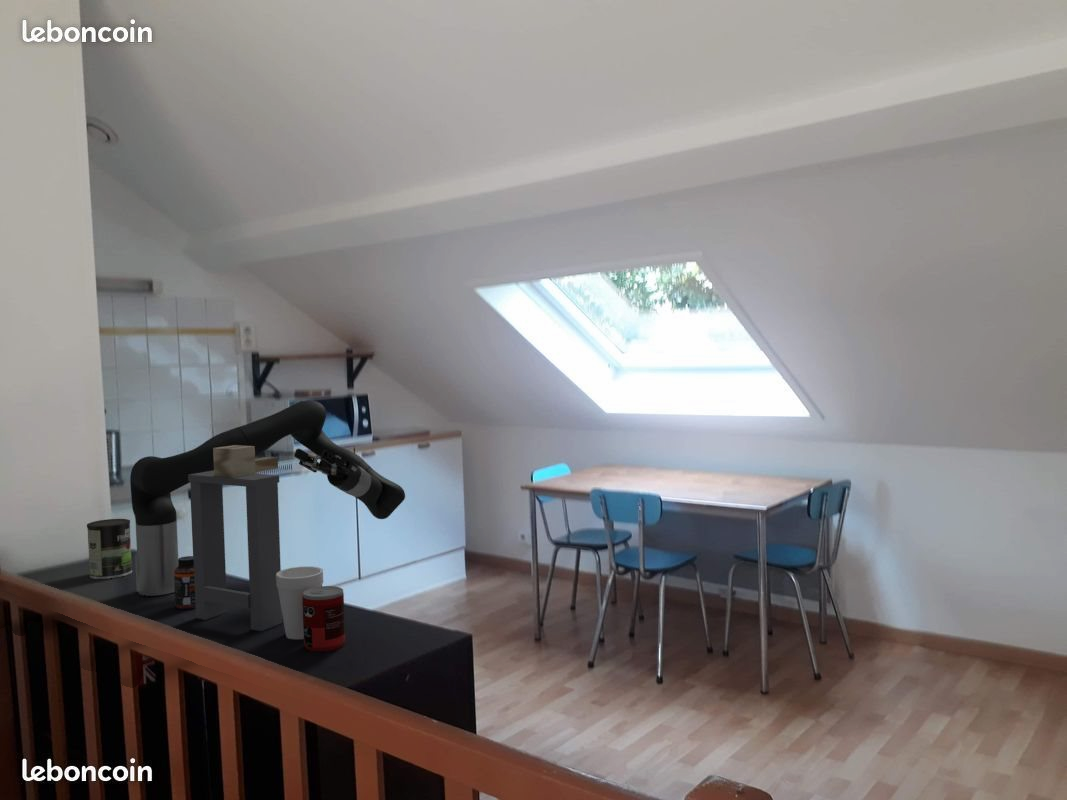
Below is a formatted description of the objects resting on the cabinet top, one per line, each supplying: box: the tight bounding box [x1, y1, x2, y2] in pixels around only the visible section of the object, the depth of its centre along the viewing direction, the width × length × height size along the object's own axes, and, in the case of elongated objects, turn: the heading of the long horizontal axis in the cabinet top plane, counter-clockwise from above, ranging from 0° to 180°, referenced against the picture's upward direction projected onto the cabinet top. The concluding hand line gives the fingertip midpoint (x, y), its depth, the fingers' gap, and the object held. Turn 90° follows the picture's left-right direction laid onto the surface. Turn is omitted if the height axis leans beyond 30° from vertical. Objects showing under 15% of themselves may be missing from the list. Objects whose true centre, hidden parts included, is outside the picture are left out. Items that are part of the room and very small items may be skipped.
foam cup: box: [276, 565, 324, 640], centre depth 173 cm, size 10×9×13 cm
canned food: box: [302, 585, 346, 652], centre depth 166 cm, size 8×8×11 cm
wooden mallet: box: [213, 445, 279, 477], centre depth 185 cm, size 6×14×6 cm, turn 151°
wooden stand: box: [188, 471, 284, 632], centre depth 182 cm, size 20×7×32 cm, turn 61°
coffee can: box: [86, 518, 133, 580], centre depth 223 cm, size 10×10×14 cm
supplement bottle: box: [174, 555, 196, 610], centre depth 194 cm, size 6×6×11 cm
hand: (309, 452), depth 201 cm, fingers open, 8 cm apart
